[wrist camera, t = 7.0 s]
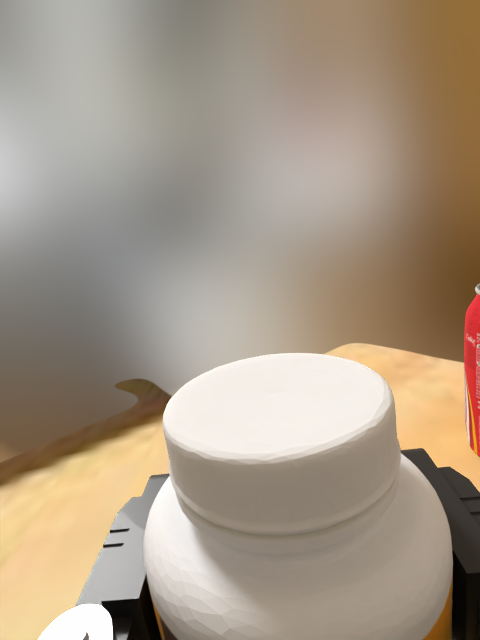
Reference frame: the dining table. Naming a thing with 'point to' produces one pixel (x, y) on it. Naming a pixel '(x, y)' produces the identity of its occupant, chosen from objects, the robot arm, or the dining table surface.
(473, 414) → the soda can
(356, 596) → the supplement bottle
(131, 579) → the robot arm
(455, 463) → the dining table surface
